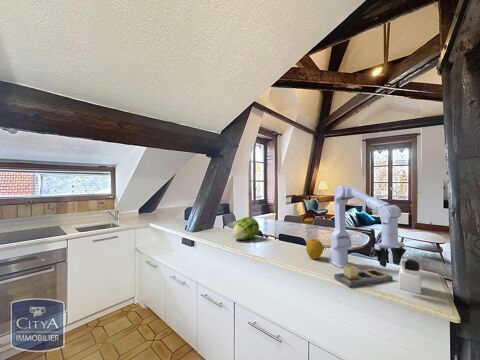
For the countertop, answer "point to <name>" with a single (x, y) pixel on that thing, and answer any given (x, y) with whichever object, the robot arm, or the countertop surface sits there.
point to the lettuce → (245, 228)
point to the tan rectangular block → (350, 272)
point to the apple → (314, 248)
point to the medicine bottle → (410, 276)
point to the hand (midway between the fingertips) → (389, 265)
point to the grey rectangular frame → (368, 280)
